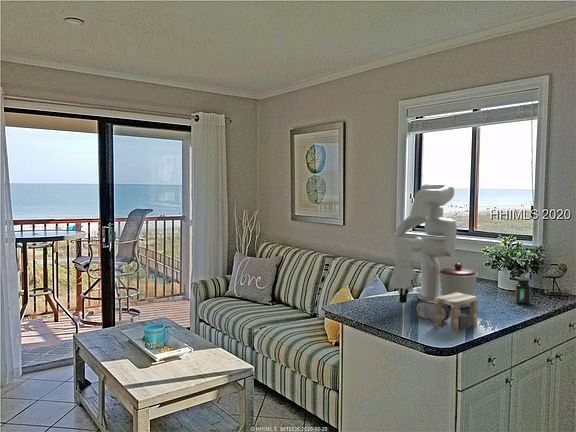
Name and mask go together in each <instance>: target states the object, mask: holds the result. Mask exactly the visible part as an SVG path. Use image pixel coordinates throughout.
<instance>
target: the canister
mask: <svg viewBox="0 0 576 432" xmlns="http://www.w3.org/2000/svg"><path fill="white" fill-rule="evenodd" d="M439 274H440V289H441V295H442V296H443V295H447V294H451V293H455V292H458V293H462V294H467V295H472V296H475V291H476V283H477V277H478V276H479V273H478V272H476V271H475V270H474V269H470V268H467V267H466V268H465V267H463V265H462V263H460V262H455V264H454V265H453V267H444V268H442V269H440V271H439ZM446 305H447V306H448V307H450V308H451V305H449V304H446ZM465 308H470V302H469V303H465V304H461V305H460V309H465Z"/></svg>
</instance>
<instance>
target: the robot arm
mask: <svg viewBox="0 0 576 432" xmlns="http://www.w3.org/2000/svg"><path fill="white" fill-rule="evenodd" d="M454 195H455V188H454V185H452V184H451V183H427V184H425V183H424V184H423V185H421V186H420V189H419V190H418V191H417V192H416V193H415V195H414V199H413V204H412V207H411V211H410V214H409V216H408V217H406V218H405V219H404V220H403V221H401V223H400V224H399V225H398V226H397V228H396V230H395V234H394V237H393V248H394V249H395V260H394V264H395V265H394V266H393V270H392V277H391V279H392V280H391V285H392V287H393V288H394V289H396V290H397V292H398V295H399V303H401V304H406V303H407V302H408V294H409V293H412V292H414V288H415V273H414V267H413V253H420V260H421V261H420V262H421V263H420V264H421V265H420V266H421V267H420V268H421V269H420V273H421V274H420V287H417V288H416V289H415V292H417V293H419V294H418V295H417V298H418V299H419V300H423V299H426V300H431V301H435V297H439V296H442V294H441V278H440V274H439V271H441V264H440V261H439V260H438V258H443V259H451V258H452V257H454V254H455V250H456V241H457V228H458V227H457V224H456V221H455V220H454V219H452V218H445V217H444V206H445V205H446V204H448V203H449V202H450V201H451V200H452V199H453V198H454ZM422 224H424V233H425V235H427V236H431V237H440V238H431V237H428V238H424V239H423V238H422V237H421V236H417V235H415V236H414V235H405V234H406V233H407V232H408V231H410V230H411V229H412V228H414V227H418V226H419V225H422ZM443 237H444V239H443ZM441 238H442V239H441Z"/></svg>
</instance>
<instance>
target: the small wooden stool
mask: <svg viewBox="0 0 576 432" xmlns="http://www.w3.org/2000/svg"><path fill="white" fill-rule="evenodd" d="M469 302H470V307H469V314H463V315H461V308H460V305H461V304H465V303H469ZM442 303H444V304H449V305H451V307H450V309H451V310H450V332H451V331H452V332H451V333H454V332H456V333H459V331H462V329H464V330H467V329H469V328H470V327H477V326H478V296H476V295H474V296H472V295H467V294H462V293H458V292H455V293H451V294H447V295H443V296H439V297H435V321H434V320H433V322H434V325H433V326H435V328H437V327H438V329H439V327H440V328H442V322H443V321H442ZM466 328H467V329H466ZM458 329H459V330H458Z"/></svg>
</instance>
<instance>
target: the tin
mask: <svg viewBox="0 0 576 432" xmlns="http://www.w3.org/2000/svg"><path fill="white" fill-rule="evenodd" d="M415 311H416V314H417V316H418V317H420V318H421V319H425V320H430V321H433V322H434V321H435V301H431V300H426V299H423V300H422V299H419V301H418V302H417V303H416V305H415ZM450 317H451V310H450V309H449V306H447V305H446V304H445V303H442V322H445V321H446V320H448V319H449V318H450Z"/></svg>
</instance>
